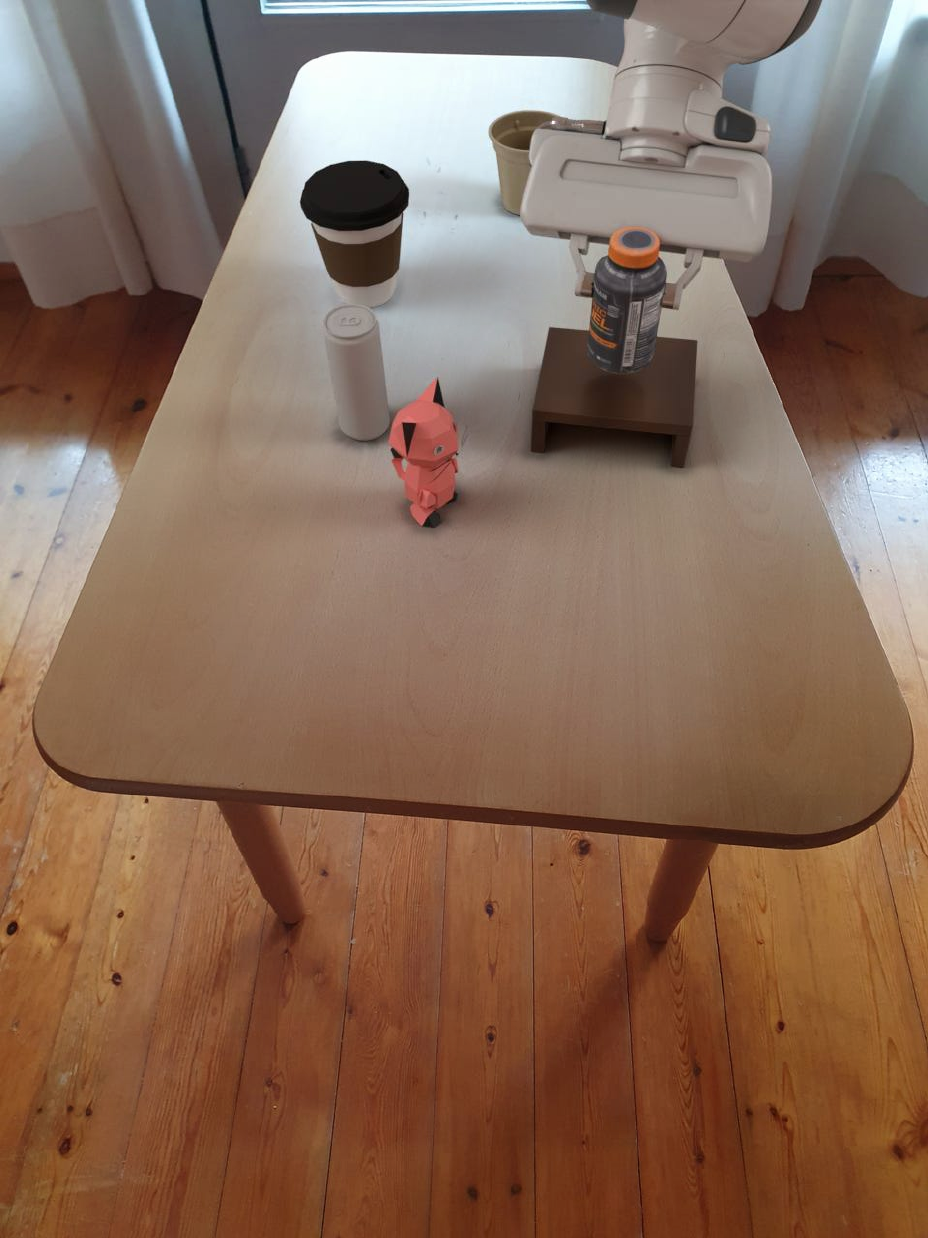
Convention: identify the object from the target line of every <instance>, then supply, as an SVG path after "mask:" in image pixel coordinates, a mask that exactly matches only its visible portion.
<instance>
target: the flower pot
mask: <svg viewBox="0 0 928 1238" xmlns="http://www.w3.org/2000/svg"><path fill="white" fill-rule="evenodd" d="M554 117H562V116H561V115H559V114H556V113H553V112H549V111H543V110H535V109H534V110H533V109H532V110H531V109H525V110H516V111H512V112H511V111H510V112H508V113H504V114H502V115H501V116H499V117H497V118H496V119H494V120H493V121H492V122H491V123H490V125H489V127H488V137H489V139H490V141H491V142H492V149H493V151H494V152H495V158H496V166H497V174H498V181H499V190H500V201H501V203H502V205H503V207H504V209H505V210H506V211H508V212H509V213H512V214H514V215H519V216H520V209H521V203H522V199H523V194H524V191H525V187H526V183H527V180H528V177H529V173H530V170H531V167H530V165H529V161H528V154H529V148H530V142H531V137H532V135H533V133H534V131H535V130H536V129H537V128H538V127H539V126H540V125H541V124H543V123H545V122H549V121H552V118H554ZM545 129H549V130H551V127H547V128H545Z"/></svg>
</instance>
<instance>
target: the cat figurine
mask: <svg viewBox="0 0 928 1238" xmlns="http://www.w3.org/2000/svg"><path fill="white" fill-rule="evenodd" d="M467 428H468V425H466V426H465V430H464V433H463V436H462V439H461V440H462V441H461V446H463V445H464V443H465V441H466V439H467V438H468V435H466V432H467ZM458 434H459V433H458V428H457V423H456V422H455V421H454V418H453V416H452V414H451V412H450V411H448V410H447V409H446V408H445V403H444V399H443V395H442V389H441V384H440V381H439V376H436V377H435V379H433V381H431V383H430V384H429V385H428V386H427V388H426V389H425V390H424V391H423V392H422V393H421V394H420V395H419V396H418V398H417V399H415V400H413V401H412V402H410V403H409V404H407V405H406V406H405V407H403V408H402V409H400V410H399V411H397V413H396V415H395V417H394V419H393V421H392V424H391V428H390V434H389V438H388V445H390V447H391V448H390V449H389V450H390V453H391V454H392V457H393V458H392V459H391V463H392V465H393V467H394V469H395V471H396V474H397V475H398V478H399V479H401V480H402V481H403V483H404V491H405V497H406V499H408V500H409V501H411V502H412V504H411V505H410V506H409V509H410V513H411V516H412V517H413V519H414V520H415V521H417V523H418V524H419V525H420V526H421V527H423V528H433V529H434V528H436V527H437V526H439V525H440V524H442V519H441V515H440V513H439V512H438V511H437V510H436V509H440V508H441V507H442V506H444V505H446V506H447V505H449V504H452V503H454V502H457V499H458V492H456V491H455V486H456V474H457V473H459V464H458V459H457V457H458V456H459V453H461V452H462V450H460V451H459V435H458ZM465 435H466V437H465ZM464 437H465V438H464ZM458 451H459V452H458ZM403 460H406V461H407V465H406V467H405V471H404V467H403V463H402V461H403Z"/></svg>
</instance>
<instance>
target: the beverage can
mask: <svg viewBox="0 0 928 1238" xmlns="http://www.w3.org/2000/svg"><path fill="white" fill-rule="evenodd" d="M322 322H323V325H322V333H323V339H324V344H325V349H326V350H325V351H326V355H327V362H328V369H329V373H330V380H331V385H332V390H333V397H334V402H335V408H336V414H337V418H338V419H337V420H338V425H339V428H340V430H341V431H342V432H343V433H344V434H345V435H346V436H347V437H349V438H351V439H353V440H356V441H360V442H367V441H373V440H376V439H378V438H379V437H381V436H382V435H383V434H384V433H386V431H387V429H388V428H389V427H390V424H391V417H390V409H389V400H388V399H389V398H388V392H387V384H386V374H385V366H384V365H385V364H384V357H383V349H382V340H381V339H382V338H381V331H380V323H379V321H378V319H377V315H376V313H375V311H374V310H373V309H372V308H368V307H366V306H364V305H360V304H346V303H344V304H342V305H337V306H336V307H334V308H332V309H330V310H329V311H327V313H326V314H325V315H324V318H323V320H322Z"/></svg>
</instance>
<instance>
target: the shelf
mask: <svg viewBox="0 0 928 1238" xmlns="http://www.w3.org/2000/svg"><path fill="white" fill-rule="evenodd" d="M588 336H589V329H588V330H587V329H577V328H564V327H556V326H555V327H554V326H549V327H548V332H547V335H546V341H545V346H544V351H543V356H542V361H541V366H540V370H539V376H538V380H537V386H536V391H535V394H534V401H533V405H532V412H531V435H530V436H531V437H530V452H532V453H541V454H543V453H545V447H546V442H547V436H548V430H549V426H550V425H549V424H550V423H557V424H567V425H577V426H587V427H596V428H603V429H605V428H606V429H615V430H624V431H625V430H626V431H635V432H645V433H654V434H665V435H671V436H672V439H671V451H670V467H674V468H681V469H682V468H685V463H686V460H687V455H688V451H689V445H690V442H691V437H692V432H693V428H694V417H695V416H694V415H695V414H694V413H695V396H696V395H695V393H696V375H697V357H698V356H697V355H698V340H697V339H688V338H677V337H676V338H675V337H665V336H657V338H656V344H655V350H654V355H653V358H652V360H651V362H650V363H649V364H648V365H647V366H646V367H644V368H643V369H641V370H638V371H636V372H632V373H624V374H620V373H612V372H608V371H605V370H603V369H601V368H599V367H598V366H596V365H595V364H594V363H593V362H592V361H591V360H590V358H589V356H588V353H587V346H588Z"/></svg>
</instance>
